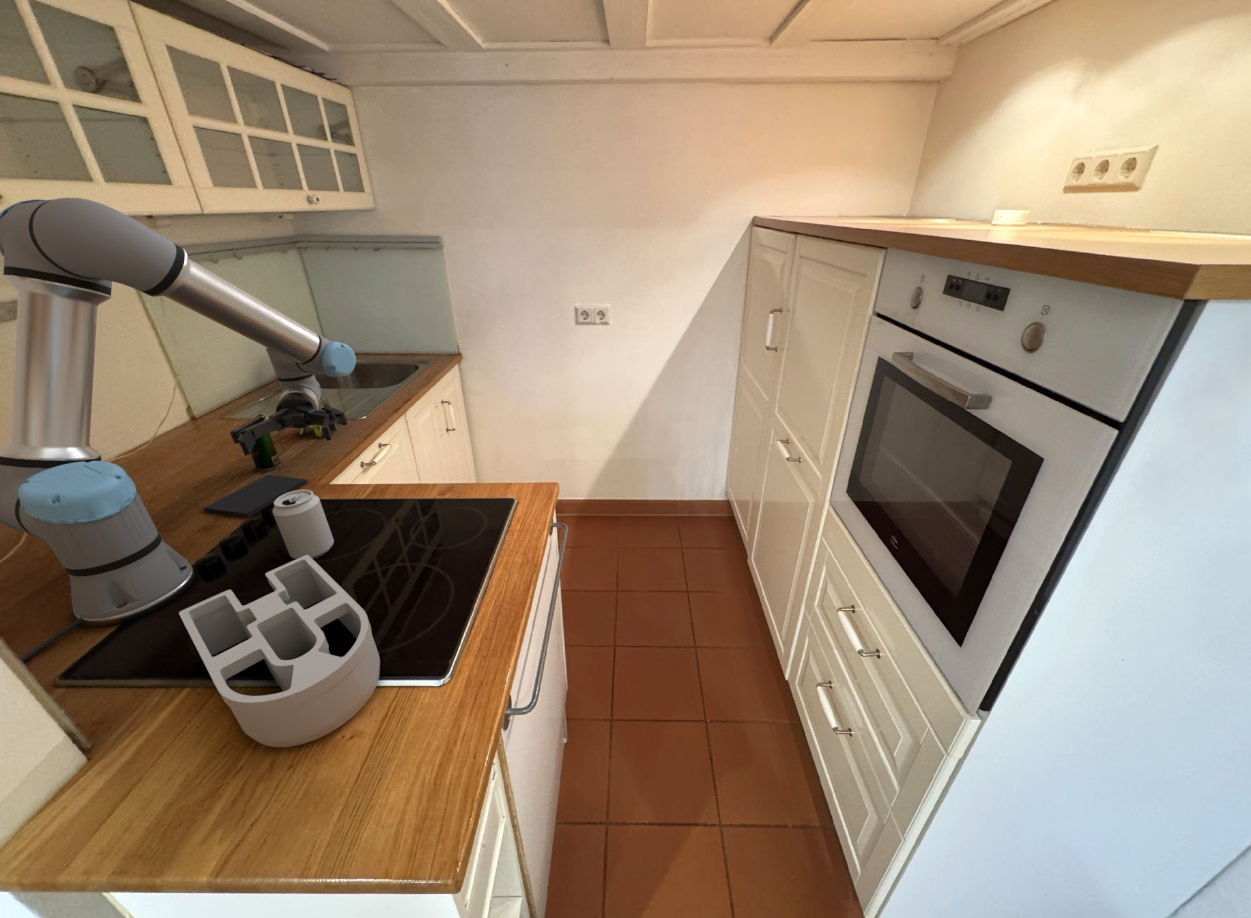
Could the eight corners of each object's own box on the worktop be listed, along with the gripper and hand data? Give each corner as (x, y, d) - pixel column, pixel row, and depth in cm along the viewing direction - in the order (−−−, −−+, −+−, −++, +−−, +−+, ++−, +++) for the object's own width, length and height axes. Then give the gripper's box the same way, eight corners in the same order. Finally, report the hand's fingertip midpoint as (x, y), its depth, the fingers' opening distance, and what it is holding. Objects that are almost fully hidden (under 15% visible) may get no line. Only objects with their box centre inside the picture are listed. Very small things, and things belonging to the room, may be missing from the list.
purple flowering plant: (310, 450, 152) (287, 417, 151) (345, 434, 157) (324, 401, 157) (306, 441, 142) (282, 405, 141) (344, 424, 148) (322, 389, 147)
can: (282, 556, 94) (260, 502, 89) (319, 535, 100) (300, 483, 95) (306, 567, 91) (284, 511, 86) (343, 545, 97) (325, 491, 92)
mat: (247, 517, 108) (246, 513, 107) (205, 511, 110) (203, 507, 110) (307, 482, 121) (306, 478, 121) (267, 478, 124) (266, 474, 124)
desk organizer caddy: (323, 595, 84) (307, 554, 80) (406, 684, 67) (391, 637, 64) (203, 657, 73) (178, 612, 69) (267, 781, 56) (238, 731, 52)
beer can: (285, 461, 133) (269, 419, 127) (275, 470, 128) (259, 427, 122) (263, 463, 132) (246, 421, 127) (252, 473, 127) (235, 429, 122)
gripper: (363, 412, 119) (363, 445, 102) (238, 433, 110) (215, 473, 92) (354, 382, 116) (353, 410, 98) (225, 401, 106) (199, 436, 89)
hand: (286, 441), depth 95 cm, fingers open, 13 cm apart
